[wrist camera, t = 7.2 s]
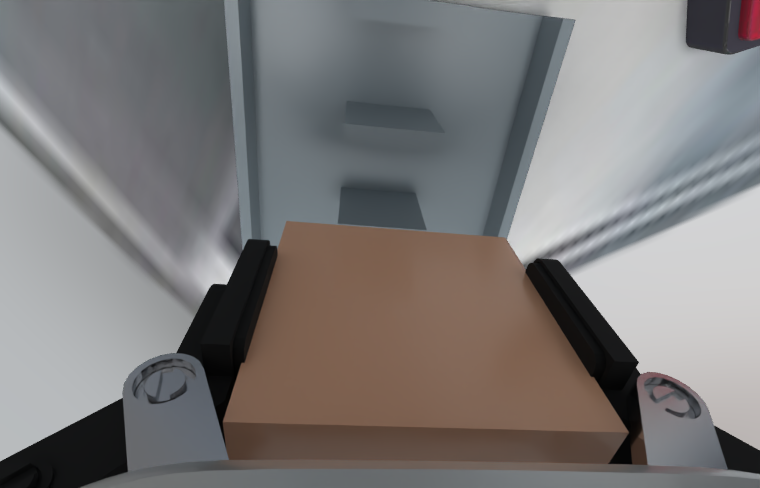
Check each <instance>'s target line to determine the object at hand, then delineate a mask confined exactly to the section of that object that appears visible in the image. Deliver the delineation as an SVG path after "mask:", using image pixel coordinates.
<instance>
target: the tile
mask: <svg viewBox="0 0 760 488" xmlns="http://www.w3.org/2000/svg"><path fill="white" fill-rule="evenodd" d="M277 251H278V256H277V259H276V263H275V266H274V269H273V272H272V276H271V279H270V282H269V285H268V289H267V292H266V295H265V298H264V302H263V305H262V308H261V311H260V315H259V318H258V321H257V324H256V328H255V331H254V334H253V337H252V341H251V344H250V347H249V350H248V354H247V357H246V360H245V363H241V366H240V369H239V372H238V376H237V379H236V382H235V385H234V388H233V391H232V395H231V398H230V401H229V404H228V407H227V410H226V414H225V417H224V420H223V428H224V436H225V443H226V451H227V455H228V458H229V460H296V459H304V460H404V461H474V462H534V463H582V464H608V463H609V462H610V460H611V459H612V457H613V456H614V454H615V453H616V451H617V450H618V448H619V447H620V445H621V444H622V442H623V441H624V439H625V438H626V436H627V435H628V434H629V432H628V430H627V429H626V427H625V425H624V424H623V422H622V421H621V419H620V418H619V416H618V414H617V413H616V411H615V410H614V408H613V407H612V405H611V403H610V402H609V400H608V399H607V397H606V396H605V394H604V392H603V391H602V389H601V388H600V386H599V385H598V383H597V381H596V380H595V378H594V377H591V376H590V375H589V373H588V371H587V370H586V368H585V367H584V365H583V364H582V362H581V360H580V359H579V357H578V356H577V354H576V352H575V351H574V349H573V348H572V346H571V344H570V343H569V341H568V340H567V338H566V336H565V335H564V333H563V332H562V330H561V328H560V327H559V325H558V324H557V322H556V320H555V319H554V317H553V316H552V314H551V312H550V311H549V309H548V308H547V306H546V304H545V303H544V301H543V300H542V298H541V296H540V295H539V293H538V292H537V290H536V289H535V287H534V285H533V284H532V282H531V281H530V279H529V277H528V276H527V274H526V273H525V272H526V270H525V268H524V266H523V265H522V263H521V262H520V260H519V259H518V257H517V255H516V254H515V252H514V251H513V249H512V248H511V246H510V244H509V243H508V241H507V240H506V238H505V237H492V236H479V235H466V234H453V233H439V232H426V231H413V230H400V229H386V228H373V227H360V226H347V225H334V224H320V223H307V222H294V221H286V224H285V227H284V230H283V234H282V237H281V240H280V243H279V246H278V249H277Z"/></svg>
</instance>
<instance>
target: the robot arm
mask: <svg viewBox="0 0 760 488" xmlns="http://www.w3.org/2000/svg"><path fill="white" fill-rule="evenodd" d="M277 256H278V251H277V246H271V245H270V241H269V240H259V239H248V240H247V242H246V244H245V247H244V249H243V251H242V253H241V255H240V258H239V260H238V262H237V264H236V266H235V268H234V271H233V273H232V275H231V277H230V279H229V282H228V284H227V285H224V284H213V285H211V287H210V288H209V290H208V292H207V294H206V296H205V298H204V300H203V302H202V304H201V306H200V308H199V310H198V312H197V314H196V316H195V318H194V319H193V321H192V323H191V326H190V327H189V329H188V331H187V333H186V335H185V337H184V339H183V341H182V343H181V345H180V347H179V349H178V351H177V353H171V354H165V355H160V356H158V357H155V358H152V359H149V360H148V361H146V362H144V363H143V364H141V365H139V366H138V367H137V368H136V369H135V370H134V371H133V372H131V373H130V375H129V376H128V378H127V379H126V381H125V383H124V387H123V398H122V399H120V400H118V401H116V402H114V403H112V404H110V405H108V406H106V407H104V408H102V409H100V410H98V411H97V412H95V413H93V414H91V415H89V416H87V417H85V418H83V419H81V420H79V421H77V422H75V423H73V424H71V425H70V426H68V427H66V428H64V429H62V430H60V431H58V432H56V433H54V434H52V435H50V436H48V437H46V438H45V439H42V440H41V441H39V442H37V443H35V444H33V445H31V446H29V447H27V448H25V449H23V450H21V451H20V452H17V453H16V454H14V455H12V456H10V457H8V458H6V459H4V460H2V461H0V488H760V450H758V449H756V448H754V447H752V446H750V445H749V444H747V443H745V442H743V441H741V440H740V439H738V438H736V437H734V436H732V435H730V434H729V433H727V432H725V431H723V430H721V429H719V428H718V427H716V426H714V425H713V422H712V418H711V415H710V412H709V410H708V408H707V406H706V404H705V402H704V401H703V400H702V399H701V398H700V396H699V395H698V394H697V393H696V392H694V391H693V390H692V389H691V388H690V387H688V386H687V385H685V384H683V383H682V382H680V381H679V380H676V379H674V378H672V377H670V376H668V375H664V374H660V373H655V372H647V373H644V374H640V373H639V371H638V370H637V369H636V366H637V364H638V363H639V362H638V361H637V359H636V358H635V357H634V356H633V355H632V353H631V352H630V350H629V349H628V348H627V347H626V345H625V344H624V343H623V342H622V340H621V339H620V338H619V336H618V335H617V334H616V333H615V331H614V330H613V329H612V328H611V326H610V325H609V324H608V323H607V321H606V320H605V319H604V318H603V316H602V315H601V314H600V312H599V311H598V310H597V309H596V307H595V306H594V305H593V303H592V302H591V301H590V300H589V298H588V297H587V296H586V295H585V293H584V292H583V291H582V290H581V288H580V287H579V286H578V284H577V283H576V282H575V281H574V280H573V278H572V277H571V276H570V274H569V273H568V272H567V270H566V269H565V268H564V267H563V265H562V264H561V263H560V262H559V261H558V260H553V259H536V260H535V261H534V263H530V264H529V265H528V267H527V269H526V272H525V273H526V274H527V276H528V277H529V279H530V281H531V282H532V284H533V285H534V287H535V289H536V290H537V292H538V293H539V295H540V296H541V298H542V300H543V301H544V303H545V304H546V306H547V308H548V309H549V311H550V312H551V314H552V316H553V317H554V319H555V320H556V322H557V324H558V325H559V327H560V328H561V330H562V332H563V333H564V335H565V336H566V338H567V340H568V341H569V343H570V344H571V346H572V348H573V349H574V351H575V352H576V354H577V356H578V357H579V359H580V360H581V362H582V364H583V365H584V367H585V368H586V370H587V371H588V373H589V375H590V376H591V377H594V378H595V380H596V381H597V383H598V385H599V386H600V388H601V389H602V391H603V392H604V394H605V396H606V397H607V399H608V400H609V402H610V403H611V405H612V407H613V408H614V410H615V411H616V413H617V414H618V416H619V418H620V419H621V421H622V422H623V424H624V425H625V427H626V429H627V430H628V432H629V434H628V435H627V436H626V438H625V439H624V441H623V442H622V444H621V445H620V447H619V448H618V450H617V451H616V453H615V454H614V456H613V457H612V459H611V460H610V462H609V463H608V464H582V463H534V462H474V461H404V460H304V459H296V460H229V458H228V455H227V451H226V443H225V436H224V428H223V420H224V417H225V414H226V410H227V407H228V404H229V401H230V398H231V395H232V391H233V388H234V385H235V382H236V379H237V376H238V372H239V369H240V366H241V363H245V360H246V357H247V354H248V350H249V347H250V344H251V341H252V337H253V334H254V331H255V328H256V324H257V321H258V318H259V315H260V311H261V308H262V305H263V302H264V298H265V295H266V292H267V289H268V285H269V282H270V279H271V276H272V272H273V269H274V266H275V263H276V259H277Z"/></svg>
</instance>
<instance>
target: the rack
mask: <svg viewBox="0 0 760 488" xmlns="http://www.w3.org/2000/svg"><path fill="white" fill-rule="evenodd" d="M224 7H225V20H226V34H227V47H228V61H229V74H230V88H231V101H232V115H233V128H234V142H235V155H236V169H237V182H238V196H239V209H240V223H241V236H242V250H243V249H244V247H245V244H246V242H247V240H248V239H259V240H269V241H270V245H271V246H277V249H278V246H279V243H280V240H281V237H282V234H283V230H284V227H285V224H286V221H294V222H307V223H320V224H334V225H347V226H360V227H373V228H386V229H400V230H413V231H426V232H439V233H453V234H466V235H479V236H492V237H505V238H506V240H507V237H508V233H509V230H510V227H511V224H512V221H513V218H514V214H515V211H516V208H517V205H518V202H519V198H520V195H521V192H522V189H523V186H524V183H525V179H526V176H527V173H528V170H529V167H530V163H531V160H532V157H533V154H534V151H535V147H536V144H537V141H538V138H539V135H540V132H541V128H542V125H543V122H544V119H545V116H546V112H547V109H548V106H549V103H550V100H551V96H552V93H553V90H554V87H555V84H556V81H557V77H558V74H559V71H560V68H561V65H562V61H563V58H564V55H565V52H566V49H567V45H568V42H569V39H570V36H571V33H572V30H573V26H574V23H575V20H573V19H565V18H556V17H547V16H539V15H531V14H524V13H516V12H508V11H501V10H493V9H485V8H478V7H470V5H462V4H454V3H447V2H439V1H431V0H224Z"/></svg>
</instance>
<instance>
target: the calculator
mask: <svg viewBox="0 0 760 488" xmlns="http://www.w3.org/2000/svg"><path fill="white" fill-rule="evenodd" d="M686 43H687V45H688V46H689V47H691V48H696V49H701V50H706V51H711V52H717V53H722V54H735V53H738V52H741V51H744V50H747V49H750V48H753V47H757V46H760V0H688V8H687V28H686Z"/></svg>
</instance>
